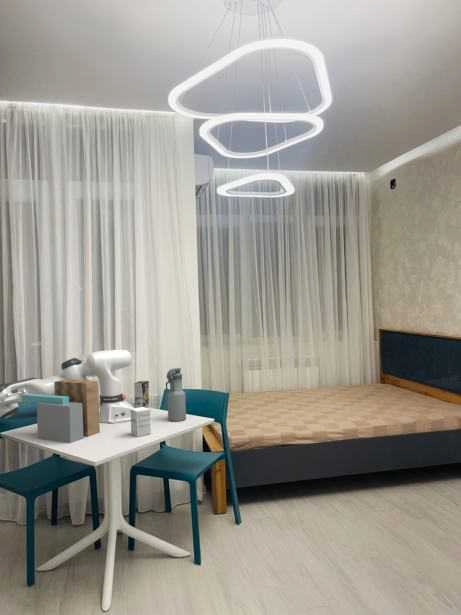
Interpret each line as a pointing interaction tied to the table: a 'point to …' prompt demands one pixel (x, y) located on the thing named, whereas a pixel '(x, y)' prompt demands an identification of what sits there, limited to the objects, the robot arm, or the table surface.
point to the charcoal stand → (60, 421)
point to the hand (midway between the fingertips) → (17, 392)
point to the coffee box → (141, 394)
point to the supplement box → (140, 422)
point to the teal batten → (45, 398)
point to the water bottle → (175, 396)
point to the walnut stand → (82, 401)
